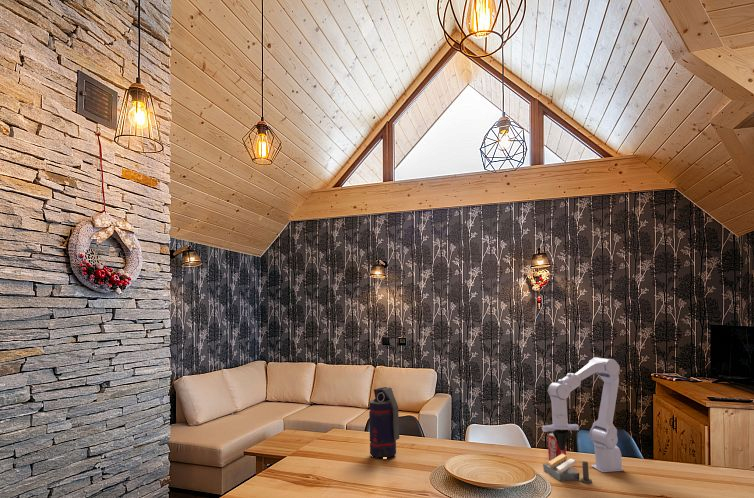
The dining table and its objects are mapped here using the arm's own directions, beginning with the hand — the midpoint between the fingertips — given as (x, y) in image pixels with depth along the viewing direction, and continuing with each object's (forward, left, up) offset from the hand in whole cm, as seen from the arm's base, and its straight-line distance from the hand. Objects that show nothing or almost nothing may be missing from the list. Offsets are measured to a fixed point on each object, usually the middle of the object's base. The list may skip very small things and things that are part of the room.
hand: (561, 449), depth 192 cm
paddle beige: (0, +4, -5) cm, 6 cm away
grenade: (+64, -39, -10) cm, 76 cm away
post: (-5, +8, -10) cm, 13 cm away
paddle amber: (0, -3, -5) cm, 5 cm away
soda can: (-5, -13, -10) cm, 17 cm away
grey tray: (0, -1, -10) cm, 10 cm away
